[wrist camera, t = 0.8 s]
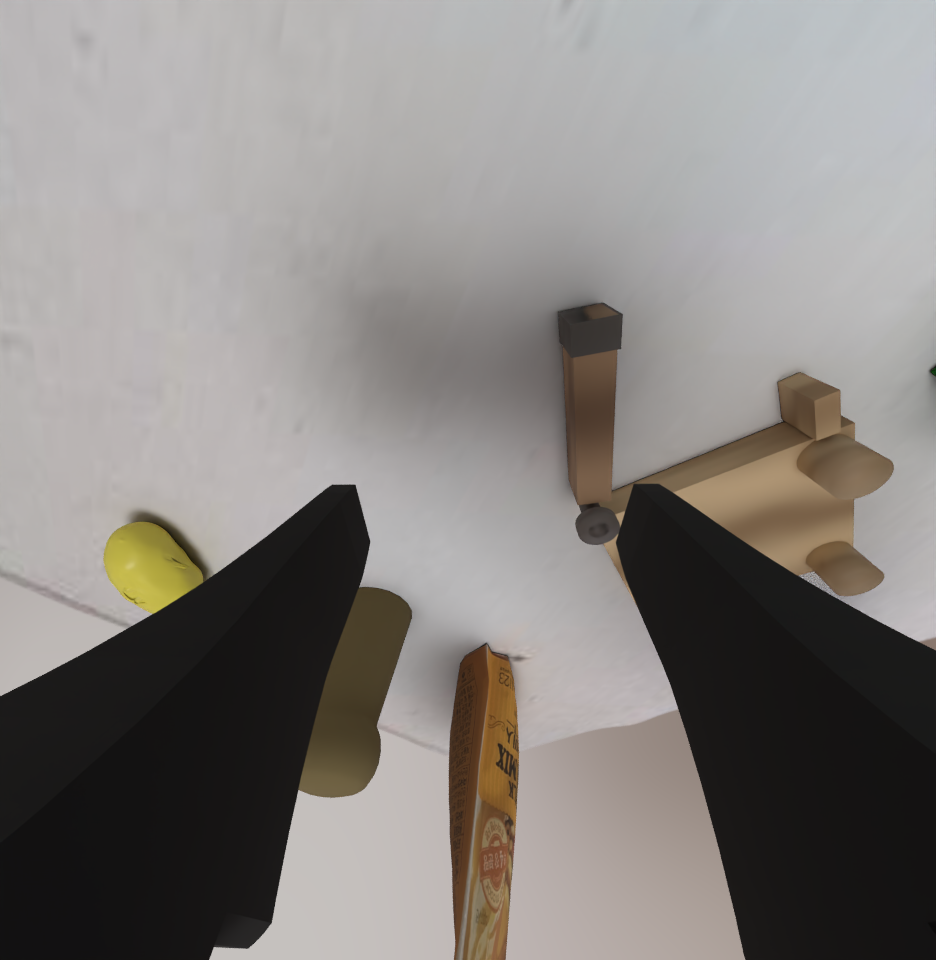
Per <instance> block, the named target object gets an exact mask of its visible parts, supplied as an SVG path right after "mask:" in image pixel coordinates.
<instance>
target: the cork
mask: <svg viewBox="0 0 936 960" xmlns="http://www.w3.org/2000/svg"><path fill="white" fill-rule="evenodd" d="M411 619H412V610H411V609H410V607H409V605H408V603H407V602H405V601H404V600H403V599H402V598H401V597H399V596H397V595H395V594H393V593H392V592H390V591H386V590H382V589H378V588H368V587H362V588H358V591H357V594H356V597H355V599H354V602H353V605H352V608H351V610H350V613H349V616H348V618H347V621H346V624H345V627H344V629H343V632H342V635H341V637H340V640H339V643H338V645H337V648H336V651H335V654H334V656H333V659H332V662H331V665H330V668H329V671H328V674H327V677H326V681H325V684H324V688H323V692H322V696H321V699H320V703H319V707H318V711H317V714H316V718H315V722H314V726H313V730H312V734H311V738H310V742H309V746H308V751H307V755H306V759H305V763H304V767H303V771H302V775H301V780H300V784H299V789H298V790H300V791H303V792H305V793H308V794H310V795H315V796H320V797H331V798H332V797H344V796H350V795H354V794H356V793H358V792H360V791H362V790H363V789H364V788H365V787H366V786H367V784H368V783H369V782H370V780H371V779H372V778H373V776H374V774H375V771H376V769H377V766H378V764H379V758H380V752H381V739H380V734H379V731H378V729H377V723H378V720H379V716H380V713H381V710H382V707H383V704H384V701H385V698H386V695H387V692H388V689H389V686H390V683H391V680H392V677H393V674H394V671H395V668H396V665H397V662H398V658H399V655H400V652H401V649H402V646H403V643H404V640H405V637H406V634H407V631H408V628H409V625H410V622H411Z"/></svg>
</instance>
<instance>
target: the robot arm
mask: <svg viewBox="0 0 936 960" xmlns="http://www.w3.org/2000/svg"><path fill="white" fill-rule="evenodd" d="M369 546H370V539H369V535H368V531H367V527H366V524H365V520H364V516H363V512H362V508H361V504H360V501H359V497H358V493H357V489H356V485H331V486H330V487H328V488H327V489H325V490H324V491H323V492H322V493H320V494H319V495H318V496H316V497H315V498H314V499H313V500H312V501H310V502H309V503H308V504H307V505H305V506H304V507H303V508H302V509H300V510H299V511H298V512H297V513H295V514H294V515H293V516H292V517H291V518H289V519H288V520H287V521H285V522H284V523H283V524H282V525H280V526H279V527H278V528H277V529H275V530H274V531H273V532H272V533H270V534H269V535H268V536H267V537H265V538H264V539H263V540H261V541H260V542H259V543H257V544H256V545H255V546H253V547H252V548H251V549H249V550H248V551H246V552H245V553H244V554H242V555H241V556H240V557H238V558H237V559H236V560H234V561H233V562H232V563H230V564H229V565H227V566H226V567H225V568H223V569H222V570H221V571H219V572H218V573H216V574H215V575H213V576H212V577H210V578H209V579H207V580H206V581H204V582H203V583H201V584H200V585H198V586H197V587H195V588H194V589H192V590H191V591H189V592H188V593H186V594H184V595H183V596H181V597H180V598H178V599H177V600H175V601H173V602H172V603H170V604H169V605H167V606H166V607H164V608H162V609H161V610H159V611H157V612H156V613H154V614H152V615H151V616H149V617H147V618H145V619H144V620H142V621H140V622H138V623H137V624H135V625H133V626H131V627H130V628H128V629H126V630H124V631H123V632H121V633H119V634H117V635H116V636H114V637H112V638H110V639H108V640H107V641H105V642H103V643H102V644H100V645H98V646H96V647H94V648H93V649H91V650H89V651H87V652H86V653H84V654H82V655H80V656H78V657H76V658H74V659H72V660H70V661H69V662H67V663H65V664H63V665H61V666H59V667H57V668H55V669H53V670H52V671H50V672H48V673H46V674H44V675H42V676H40V677H38V678H36V679H34V680H32V681H30V682H28V683H26V684H24V685H22V686H20V687H18V688H16V689H14V690H12V691H10V692H8V693H6V694H4V695H2V696H0V960H209V958H210V956H211V953H212V950H213V947H225V948H246V949H247V948H249V947H250V946H252V945H253V944H254V943H255V942H256V941H257V940H258V939H259V938H260V937H261V936H262V934H263V933H264V932H265V931H266V930H267V928H268V927H269V925H270V924H271V923H272V918H273V913H274V907H275V902H276V896H277V891H278V886H279V880H280V876H281V870H282V865H283V860H284V855H285V850H286V845H287V840H288V835H289V830H290V825H291V820H292V816H293V812H294V807H295V802H296V798H297V793H298V789H299V784H300V780H301V775H302V771H303V767H304V763H305V759H306V755H307V751H308V746H309V742H310V738H311V734H312V730H313V726H314V722H315V718H316V714H317V711H318V707H319V703H320V699H321V696H322V692H323V688H324V684H325V681H326V677H327V674H328V671H329V668H330V665H331V662H332V659H333V656H334V654H335V651H336V648H337V645H338V643H339V640H340V637H341V635H342V632H343V629H344V627H345V624H346V621H347V618H348V616H349V613H350V610H351V608H352V605H353V602H354V599H355V597H356V594H357V591H358V588H359V586H360V583H361V580H362V577H363V573H364V569H365V564H366V560H367V555H368V551H369ZM616 546H617V550H618V554H619V557H620V561H621V565H622V568H623V572H624V575H625V578H626V581H627V583H628V586H629V588H630V590H631V593H632V595H633V598H634V600H635V602H636V605H637V607H638V609H639V612H640V614H641V616H642V618H643V621H644V623H645V625H646V628H647V630H648V632H649V635H650V637H651V639H652V641H653V644H654V646H655V648H656V651H657V653H658V655H659V658H660V660H661V662H662V664H663V667H664V669H665V672H666V675H667V677H668V680H669V682H670V685H671V688H672V691H673V694H674V697H675V700H676V703H677V706H678V709H679V712H680V715H681V719H682V722H683V725H684V728H685V731H686V734H687V737H688V741H689V744H690V747H691V750H692V754H693V757H694V761H695V764H696V767H697V771H698V774H699V777H700V781H701V784H702V788H703V791H704V795H705V799H706V802H707V806H708V810H709V814H710V817H711V821H712V825H713V828H714V832H715V835H716V839H717V843H718V847H719V850H720V854H721V859H722V863H723V867H724V871H725V875H726V879H727V883H728V888H729V892H730V896H731V900H732V903H733V908H734V912H735V916H736V921H737V925H738V930H739V935H740V939H741V944H742V948H743V953H744V956H745V959H746V960H936V650H934V649H932V648H930V647H927V646H925V645H923V644H922V643H920V642H918V641H916V640H914V639H911V638H909V637H907V636H905V635H904V634H902V633H900V632H898V631H896V630H894V629H892V628H890V627H888V626H886V625H884V624H882V623H881V622H879V621H877V620H875V619H873V618H871V617H869V616H868V615H866V614H864V613H862V612H860V611H859V610H857V609H855V608H853V607H851V606H850V605H848V604H846V603H844V602H842V601H840V600H839V599H837V598H835V597H833V596H831V595H830V594H828V593H826V592H824V591H823V590H821V589H819V588H818V587H816V586H814V585H812V584H811V583H809V582H807V581H806V580H804V579H802V578H801V577H799V576H797V575H796V574H794V573H793V572H791V571H789V570H788V569H786V568H785V567H783V566H781V565H780V564H778V563H777V562H775V561H773V560H772V559H770V558H769V557H767V556H765V555H764V554H762V553H761V552H759V551H758V550H756V549H755V548H753V547H752V546H750V545H749V544H747V543H746V542H744V541H743V540H741V539H740V538H738V537H737V536H735V535H734V534H732V533H731V532H729V531H728V530H726V529H725V528H724V527H722V526H721V525H719V524H718V523H716V522H715V521H713V520H712V519H711V518H709V517H708V516H706V515H705V514H703V513H702V512H701V511H699V510H698V509H696V508H695V507H693V506H692V505H691V504H689V503H688V502H686V501H685V500H683V499H682V498H680V497H679V496H677V495H676V494H675V493H673V492H671V491H670V490H668V489H667V488H665V487H664V486H662V485H660V484H633V488H632V491H631V494H630V497H629V501H628V504H627V507H626V510H625V514H624V517H623V520H622V524H621V527H620V530H619V533H618V537H617V540H616Z"/></svg>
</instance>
